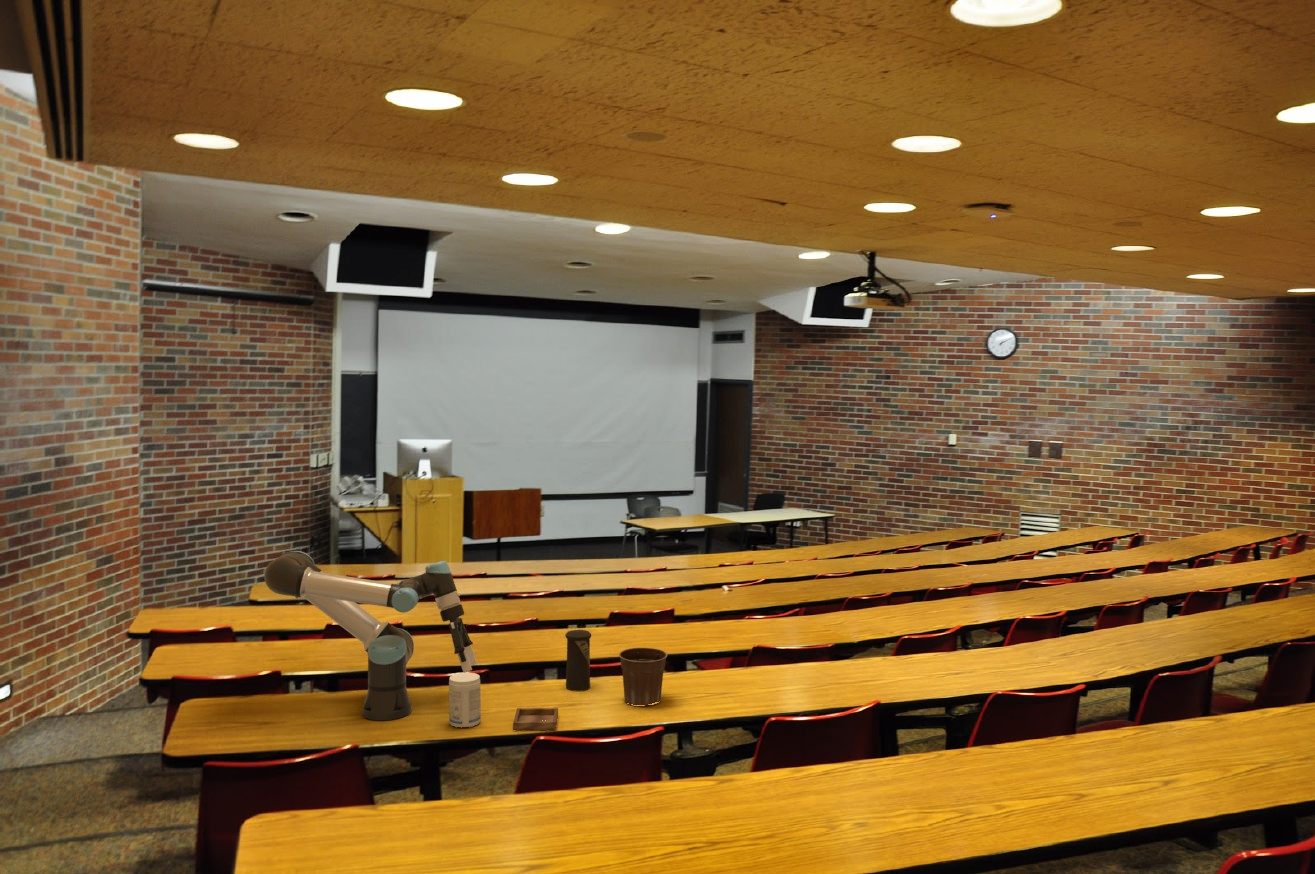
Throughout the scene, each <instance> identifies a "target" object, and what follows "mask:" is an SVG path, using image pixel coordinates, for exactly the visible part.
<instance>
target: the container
mask: <svg viewBox="0 0 1315 874" xmlns="http://www.w3.org/2000/svg"><path fill="white" fill-rule="evenodd" d="M591 637H592V632H590V631H588V630H584V629H573V630H569V631H567V632H566V633H565V639H566V672H565V673H566V675H565V677H566V678H565V687H566V689H567V690H569V689H570V690H569V691H573V690H583V691H587V690H589V689H590V688H591V666H590V665H591V660H590V659H591V658H590V657H591V656H590V654H591V652H590V650H591V649H590V647H591V645H590V643H591V642H590V639H591ZM588 688H589V689H588ZM586 689H587V690H586Z"/></svg>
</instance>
